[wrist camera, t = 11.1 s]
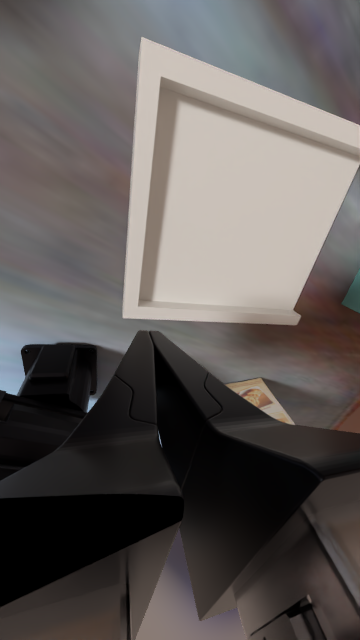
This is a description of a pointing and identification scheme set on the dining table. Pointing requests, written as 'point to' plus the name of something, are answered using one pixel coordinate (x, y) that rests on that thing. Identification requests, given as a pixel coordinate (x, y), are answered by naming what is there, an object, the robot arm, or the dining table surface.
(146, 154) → the tray
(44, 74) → the dining table surface
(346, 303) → the teal rectangular block
